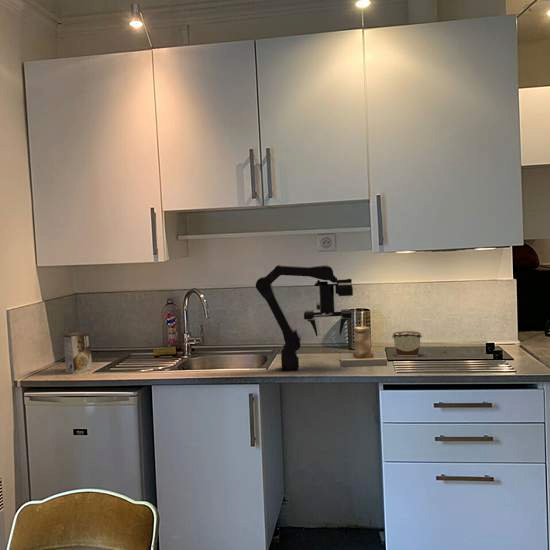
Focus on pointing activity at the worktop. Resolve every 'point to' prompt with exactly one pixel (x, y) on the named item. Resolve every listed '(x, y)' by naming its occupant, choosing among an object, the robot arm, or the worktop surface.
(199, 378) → the worktop surface
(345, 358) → the plate
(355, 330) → the tan piece
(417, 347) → the food container
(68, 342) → the coffee box
